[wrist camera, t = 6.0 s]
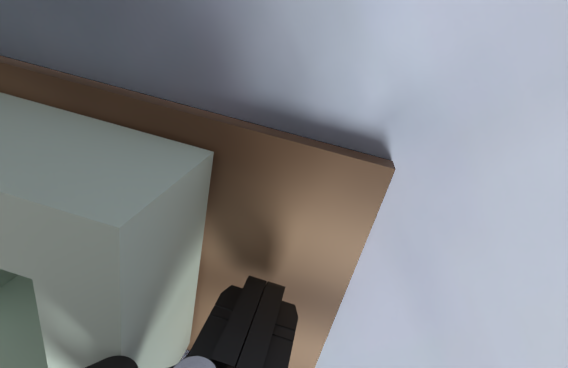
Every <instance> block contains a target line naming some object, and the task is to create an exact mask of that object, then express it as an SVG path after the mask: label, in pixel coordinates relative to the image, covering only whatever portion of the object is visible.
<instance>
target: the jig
mask: <svg viewBox="0 0 568 368" xmlns="http://www.w3.org/2000/svg"><path fill="white" fill-rule="evenodd" d="M0 92H1V93H5V94H8V95H12V96H16V97H19V98H23V99H26V100H30V101H34V102H37V103H41V104H44V105H48V106H51V107H55V108H59V109H62V110H66V111H69V112H73V113H77V114H80V115H84V116H87V117H91V118H95V119H98V120H102V121H105V122H109V123H112V124H116V125H120V126H123V127H127V128H130V129H134V130H138V131H141V132H145V133H148V134H152V135H156V136H159V137H163V138H166V139H170V140H173V141H177V142H181V143H184V144H188V145H191V146H195V147H199V148H202V149H206V150H209V151H213V152H214V155H213V163H212V171H211V179H210V187H209V195H208V203H207V211H206V219H205V227H204V234H203V242H202V250H201V258H200V266H199V274H198V282H197V290H196V298H195V306H194V314H193V322H192V330H191V337H190V343H189V345H188V347H187V350H191V348H192V346H193V344H194V343H195V341H196V339H197V337H198V335H199V333H200V331H201V329H202V328H203V326H204V324H205V322H206V320H207V318H208V316H209V315H210V313H211V311H212V309H213V307H214V306H215V303H216V301H217V300H218V298H219V296H220V294H221V293H222V292H223V291H224V290H225V289H227V288H228V287H229V286H231V285H234V286H237V287H240V288H243V287H244V284H245V282H246V280H247V278H248V276H249V275H250V276H253V277H256V278H259V279H262V280H266V281H267V282H268V281H269V282H272V283H276V284H279V285H282V286H285V291H284V294H283V298H282V301H285V302H288V303H291V304H294V305H295V306H296V310H297V314H298V322H297V327H296V331H295V336H294V341H293V346H292V351H291V356H290V361H289V366H288V368H315V365H316V363H317V361H318V358H319V356H320V353H321V351H322V348H323V346H324V343H325V341H326V338H327V336H328V334H329V331H330V329H331V326H332V324H333V321H334V319H335V316H336V314H337V311H338V309H339V306H340V304H341V302H342V299H343V297H344V294H345V292H346V289H347V287H348V284H349V282H350V279H351V277H352V275H353V272H354V270H355V267H356V265H357V262H358V260H359V257H360V255H361V252H362V250H363V248H364V245H365V243H366V240H367V238H368V235H369V233H370V230H371V228H372V225H373V223H374V221H375V218H376V216H377V213H378V211H379V208H380V206H381V203H382V201H383V198H384V196H385V194H386V191H387V189H388V186H389V184H390V181H391V179H392V176H393V174H394V171H395V167H394V164H393V161H391V160H387V159H383V158H380V157H376V156H372V155H368V154H365V153H361V152H357V151H354V150H350V149H346V148H342V147H339V146H335V145H331V144H328V143H324V142H320V141H316V140H313V139H309V138H305V137H301V136H298V135H294V134H290V133H287V132H283V131H279V130H275V129H272V128H268V127H264V126H261V125H257V124H253V123H249V122H246V121H242V120H238V119H235V118H231V117H227V116H223V115H220V114H216V113H212V112H208V111H205V110H201V109H197V108H194V107H190V106H186V105H182V104H179V103H175V102H171V101H168V100H164V99H160V98H156V97H153V96H149V95H145V94H141V93H138V92H134V91H130V90H127V89H123V88H119V87H115V86H112V85H108V84H104V83H101V82H97V81H93V80H89V79H86V78H82V77H78V76H75V75H71V74H67V73H63V72H60V71H56V70H52V69H48V68H45V67H41V66H37V65H34V64H30V63H26V62H22V61H19V60H15V59H11V58H8V57H4V56H0Z"/></svg>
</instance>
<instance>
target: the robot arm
mask: <svg viewBox="0 0 568 368" xmlns="http://www.w3.org/2000/svg"><path fill="white" fill-rule="evenodd" d="M284 291H285V286H282V285H279V284H276V283H272V282H269V281H268V282H267V281H266V280H262V279H259V278H256V277H253V276H250V275H249V276H248V278H247V280H246V282H245V284H244V287H243V288H240V287H237V286H234V285H231V286H229V287H228V288H227V289H225V290H224V291H223V292H222V293H221V294H220V296H219V298H218V300H217V301H216V303H215V306H214V307H213V309H212V311H211V313H210V315H209V316H208V318H207V320H206V322H205V324H204V326H203V328H202V329H201V331H200V333H199V335H198V337H197V339H196V341H195V343H194V344H193V346H192V348H191V350H190V352H189V353H188V355H187V356H186V357H185V358H184V359H183V360H181V361H180V362H178V363H177V364H176V365H174V366H171V367H169V368H288V366H289V361H290V356H291V351H292V346H293V341H294V336H295V331H296V327H297V322H298V314H297V310H296V306H295V305H294V304H291V303H288V302H285V301H282V298H283V294H284ZM85 368H138V366H137V364H136V362H135V361H134V360H132V359H131V358H129V357H126V356H111V357H108V358H105V359H103V360H101V361H98V362H96V363H94V364H92V365H90V366H87V367H85Z"/></svg>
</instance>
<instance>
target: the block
mask: <svg viewBox="0 0 568 368" xmlns="http://www.w3.org/2000/svg"><path fill="white" fill-rule="evenodd" d="M213 155H214V152H213V151H209V150H206V149H202V148H199V147H195V146H191V145H188V144H184V143H181V142H177V141H173V140H170V139H166V138H163V137H159V136H156V135H152V134H148V133H145V132H141V131H138V130H134V129H130V128H127V127H123V126H120V125H116V124H112V123H109V122H105V121H102V120H98V119H95V118H91V117H87V116H84V115H80V114H77V113H73V112H69V111H66V110H62V109H59V108H55V107H51V106H48V105H44V104H41V103H37V102H34V101H30V100H26V99H23V98H19V97H16V96H12V95H8V94H5V93H1V92H0V368H85V367H87V366H90V365H92V364H94V363H96V362H98V361H101V360H103V359H105V358H108V357H111V356H126V357H129V358H131V359H132V360H134V361H135V362H136V364H137V366H138V368H169V367H171V366H174V365H176V364H177V363H178V362H180V360H181V359H182V357H183V355H184V353H185V351H186V349H187V347H188V345H189V343H190V337H191V330H192V322H193V314H194V306H195V298H196V290H197V282H198V274H199V266H200V258H201V250H202V242H203V234H204V227H205V219H206V211H207V203H208V195H209V187H210V179H211V171H212V163H213Z"/></svg>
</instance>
